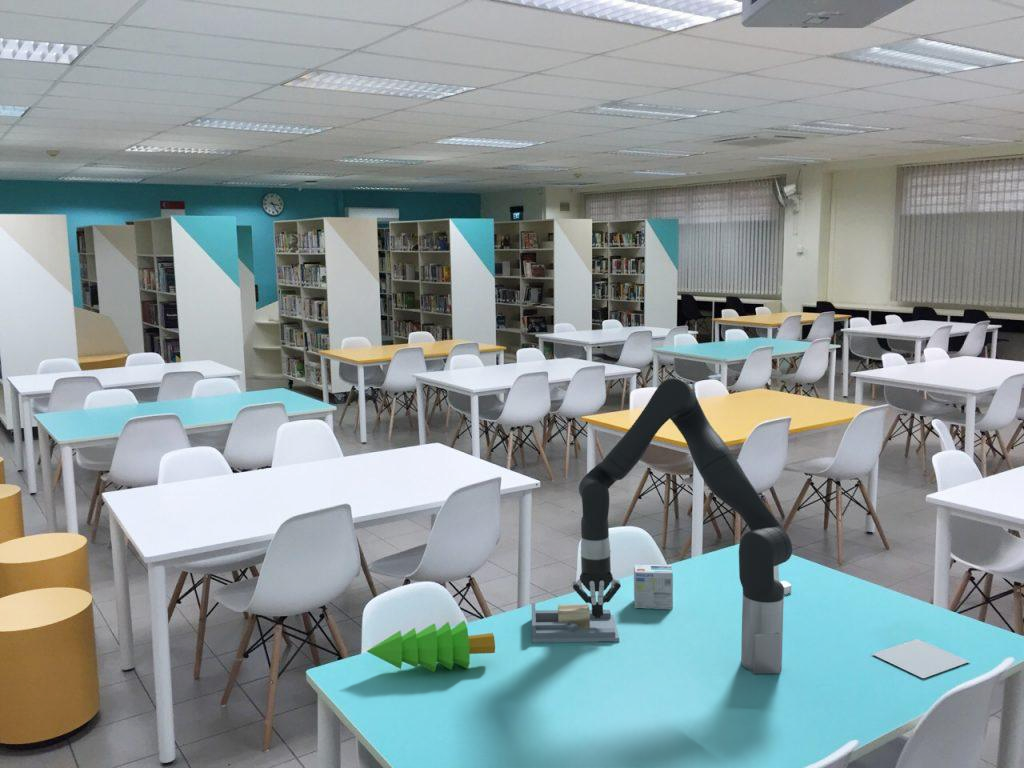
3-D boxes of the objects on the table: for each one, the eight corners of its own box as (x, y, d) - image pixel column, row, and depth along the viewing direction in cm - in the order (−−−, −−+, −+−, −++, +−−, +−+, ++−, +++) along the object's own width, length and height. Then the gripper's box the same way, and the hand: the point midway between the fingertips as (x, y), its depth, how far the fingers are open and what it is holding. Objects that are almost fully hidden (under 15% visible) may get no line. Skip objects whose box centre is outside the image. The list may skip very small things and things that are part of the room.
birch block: (589, 628, 216) (589, 610, 215) (558, 629, 216) (558, 611, 215) (588, 622, 220) (588, 604, 219) (558, 622, 220) (557, 604, 219)
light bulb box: (671, 600, 236) (671, 564, 234) (673, 610, 229) (673, 572, 228) (633, 599, 237) (633, 563, 236) (634, 609, 230) (634, 571, 229)
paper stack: (839, 641, 209) (839, 638, 209) (906, 620, 221) (906, 618, 221) (922, 681, 189) (923, 678, 189) (991, 656, 200) (991, 653, 200)
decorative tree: (495, 618, 196) (366, 626, 190) (498, 669, 193) (367, 679, 187) (487, 618, 207) (365, 625, 201) (490, 666, 204) (365, 675, 198)
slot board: (619, 641, 211) (619, 624, 210) (532, 642, 211) (532, 625, 210) (613, 618, 224) (613, 602, 224) (531, 619, 225) (531, 603, 224)
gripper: (619, 547, 219) (621, 610, 221) (569, 549, 219) (571, 611, 222) (622, 557, 211) (624, 622, 214) (570, 559, 212) (572, 623, 214)
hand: (597, 616), depth 218 cm, fingers closed
